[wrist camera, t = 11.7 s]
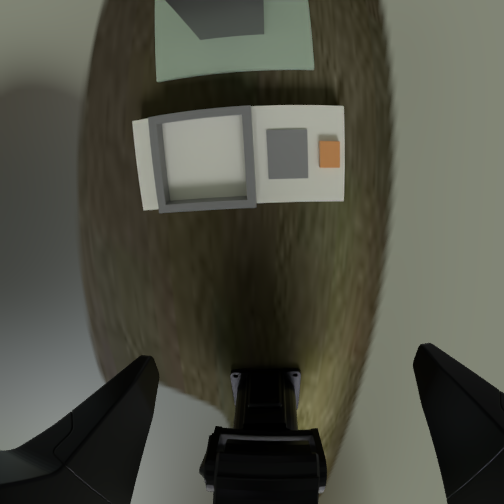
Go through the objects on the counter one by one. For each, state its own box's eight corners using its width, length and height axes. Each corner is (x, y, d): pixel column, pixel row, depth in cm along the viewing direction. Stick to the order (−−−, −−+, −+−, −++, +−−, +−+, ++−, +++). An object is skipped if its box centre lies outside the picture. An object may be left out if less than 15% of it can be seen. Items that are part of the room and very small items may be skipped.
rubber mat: (313, 70, 16) (314, 68, 16) (159, 82, 17) (156, 81, 16) (301, -38, 12) (302, -41, 12) (157, -24, 13) (155, -27, 13)
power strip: (338, 195, 20) (347, 205, 17) (151, 204, 20) (138, 214, 18) (337, 107, 17) (348, 105, 15) (141, 120, 18) (125, 121, 16)
